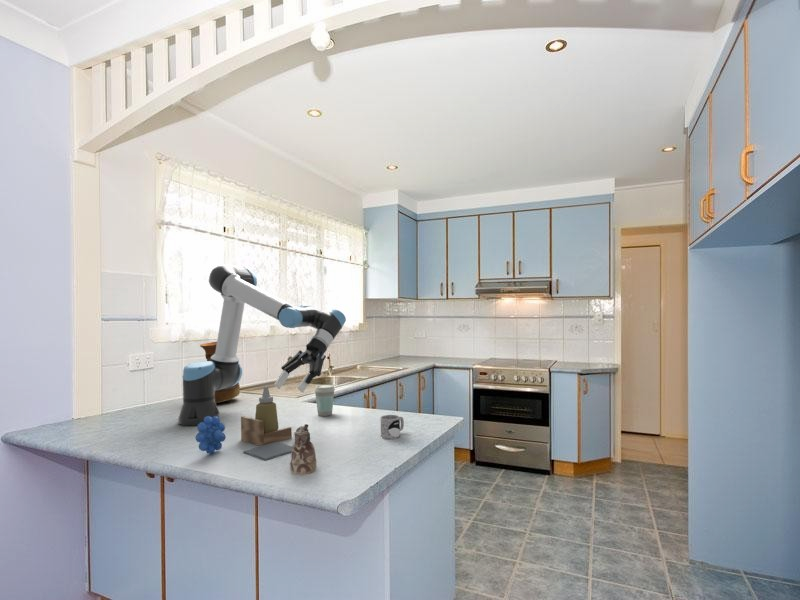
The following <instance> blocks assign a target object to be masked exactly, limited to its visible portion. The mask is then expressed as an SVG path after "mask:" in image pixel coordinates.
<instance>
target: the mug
mask: <svg viewBox="0 0 800 600" xmlns="http://www.w3.org/2000/svg"><path fill="white" fill-rule="evenodd" d="M404 427H405V422H404V417H402V416H400V415H398V414H397V415H396V414H386V415H385V414H384V415H382V416H380V438H381V437H382V439H383V438H385V439H384V440H395V439H394V438H396V439H398V437H399V438H400V437H401V432H402V430H404Z"/></svg>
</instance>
